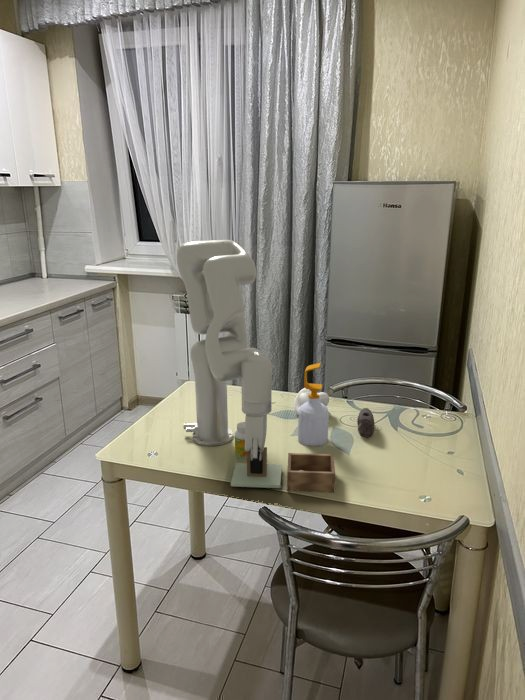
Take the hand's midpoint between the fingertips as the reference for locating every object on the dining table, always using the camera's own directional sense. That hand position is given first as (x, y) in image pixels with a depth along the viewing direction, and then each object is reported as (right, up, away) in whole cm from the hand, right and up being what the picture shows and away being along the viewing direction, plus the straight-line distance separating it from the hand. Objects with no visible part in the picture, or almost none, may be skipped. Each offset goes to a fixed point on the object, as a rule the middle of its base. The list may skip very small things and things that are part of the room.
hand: (257, 469), depth 139 cm
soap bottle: (+17, +3, +24) cm, 29 cm away
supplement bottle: (-4, 0, +15) cm, 15 cm away
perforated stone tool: (+34, +5, +30) cm, 46 cm away
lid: (0, -2, +1) cm, 2 cm away
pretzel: (+17, +9, +42) cm, 46 cm away
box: (+14, -4, 0) cm, 14 cm away
